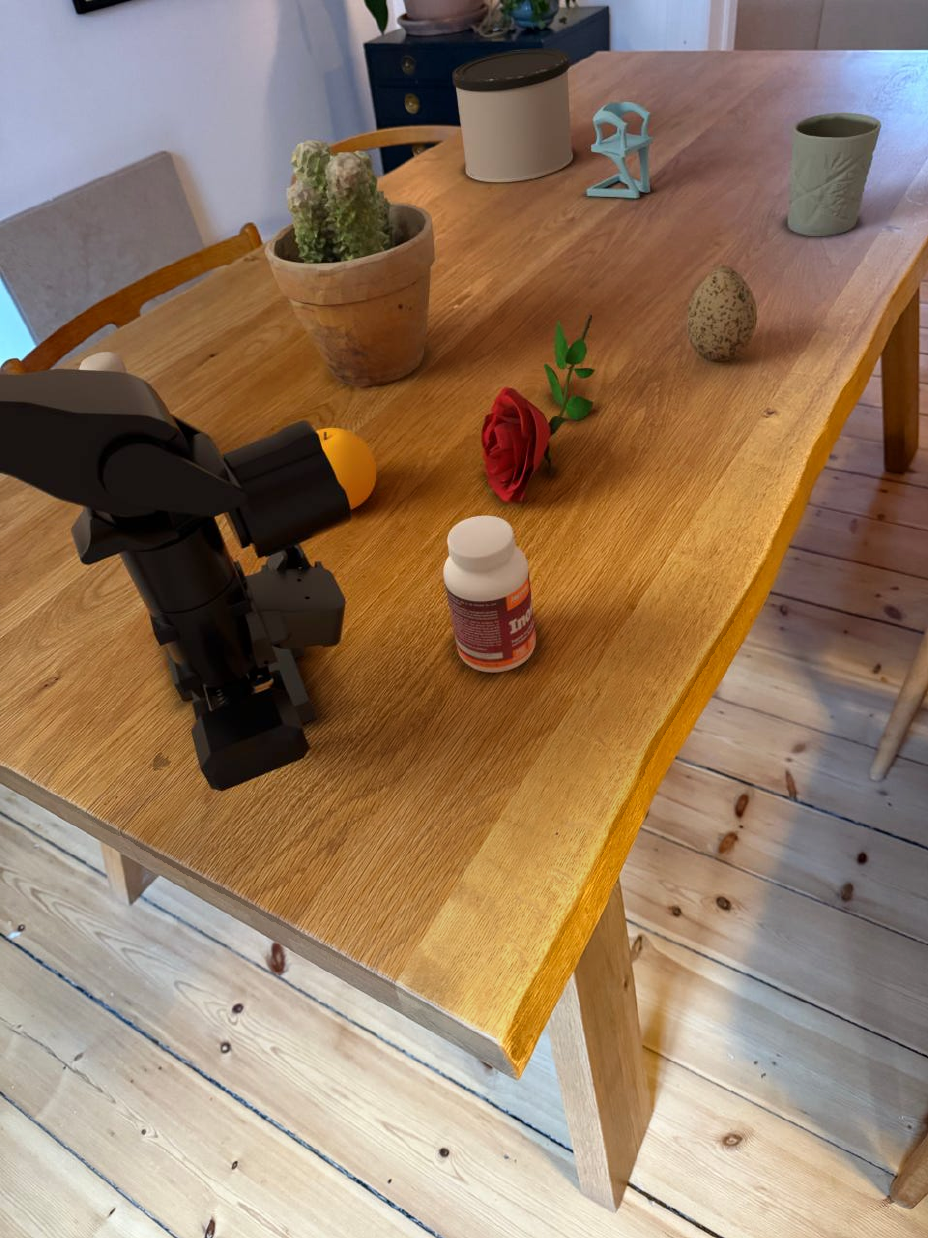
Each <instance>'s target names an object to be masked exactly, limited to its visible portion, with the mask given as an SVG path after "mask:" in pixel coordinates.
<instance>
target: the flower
mask: <svg viewBox="0 0 928 1238" xmlns="http://www.w3.org/2000/svg"><path fill="white" fill-rule="evenodd" d="M593 317H594V316H593V314H590V315H589V316H588V319H587V321H586V323H585V326H584V329H583V332H582V335H581V336H580V337H579V338H577V339H576V340H575V341H574V342H573V343H572V344H571V345H570V347H569V345H568V341H567V338H566V337H565V334H564V331H563V327H562V325H561V324H562V323H561V322H560V320H559V319H557V322H556V328H555V335H554V354H555V363H556V366H557V368H559V369H560V370H566V369H567V370H568V372H567V374H566V375H567V376H566V379H565V384H564V392H563V389H562V387H561V385H560V380H559V378H558V375H557V374H556V372H555V370H554V369H553V368H552V367H551V366H550V365H549V364H547V363H544V364H543V368H544V370H545V373H546V376H547V379H548V381H549V382H548V383H549V386H550V389H551V392H552V396H553V398H554V400H555V401H556V402H557V404H558V405H559V406H561V407H560V411H559V414H558V415H554V416H552V418H550V420H549V421H548V419H547V417H546V415H545V414H544V412H543V411H541V410H540V408H538V407H537V406H536V405H534V404H533V403H532V402H531V401H529V400H528V399H526V398H525V397H523V395H522V394H520V392H519V391H517V389H515V388H513V387H509V386H504V387H503V388H502V389H501V390H500V392H499V393H498V395H497V396H496V397H495V399H494V400H493V404H492V407H491V411H490V413H488V414H486V415H485V417H484V422H483V424H482V429H481V434H480V435H481V438H480V439H481V440H480V442H481V443H480V444H481V447H482V449H483V450H482V458H483V460H484V462H485V463H484V470H485V474H486V475H487V480H488V481H487V483H488V485H490V486H491V488H492V490H493V491H494V493H495V494H496V495H497V496H498V497H499V499H500V500H502V501H503V502H509V503H514V502H516V501H518V500H519V501H520V502H521V501H522V500H523V497H524V495H525V493H526V491H527V488H528V485H529V481H530V480H531V478H532V476H533V475H534V474H535V472H536V471H537V469H538V468H539V466H540V464H541V462H542V461H543V458H544V460H545V461H546V462H547V465H548V472H549V475H550V476H551V475H552V457H551V456H550V447H551V445H550V439H551V437H552V436H554V435H555V434H556V433H557V432H558V430H559V429H560V427H561V426H562V425H563V424H564V423H565V422H568V421H569V419H568V418H570V419H571V420H574V421H579V420H582V419H584V418H585V417H587V416H588V414H589V413H590V412H591V410H592V408H593V405H594V401H592V400H589V399H587V398H585V397H582V396H579V395H574V396H571V397H570V398H569V399H568V396H569V388H570V381H571V376H572V374H573V371H574V372H575V374H576V376H577V377H578V378H579V379H582V380H585V379H588V378H590V377H591V376H593V374H594V373H595V371H596V369H593V368H590V367H575V366H576V365H580V364H583V362H584V360H585V358H586V356H587V353H588V348H587V347H588V346H587V344H586V342H585V339H586V337H587V333H588V331H589V329H590V327H591V326H590V325H591V323H592V320H593ZM568 365H570V366H569V367H567V366H568ZM564 413H566V415H567V417H568V418H566V417H563V415H564Z"/></svg>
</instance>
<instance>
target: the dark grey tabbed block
mask: <svg viewBox="0 0 928 1238" xmlns="http://www.w3.org/2000/svg"><path fill="white" fill-rule="evenodd" d="M273 649H274V652H275V654H276V657H277V660H278V662H276V663H273V664H270V665H269V670H270V672H272V671H275V670H277V669H279V670H280V673H281V675H282V678H283V681H284V683H285V686H286V689H287V692H289V694H290V697H291V699H292V702H293V704H294V707H295V709H296V712H297V714H298V717H299V720H300V722H301V725H303V724H305V723H308V722H310V721H314V720H315V719H317V715H316V712H315V709H314V707H313V704H312V702H311V700H310V699H311V698H310V697H309V694H308V692H307V688H306V686H305V684H304V681H303V678H302V676H301V674H300V671H299V669H298V666H297V663H296V661H295V659H294V658H293V655H292V653H291V650H290V649H280V648H276V647H274V648H273ZM192 695H193V698H192V699H193V702H195V701H197V700H200V698H199V697H198V696H197V695H195V694H194V693H193V692H192Z"/></svg>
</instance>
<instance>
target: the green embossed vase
mask: <svg viewBox="0 0 928 1238" xmlns="http://www.w3.org/2000/svg"><path fill="white" fill-rule="evenodd" d="M881 128H882V123H881V121H880V119H878V118H876V117H874V116H871V115H868V114H863V113H857V112H829V113H822V114H817V115H813V116H808V117H805V118H802V119H800V120H799V121H796V123H795V124H794V125H793V127H792V143H791V165H790V175H789V177H790V179H789V180H790V181H789V197H788V204H789V207H788V210H787V227H788V229H789V230H791V231H792V232H794V233H796V234H799V235H804V236H808V237H828V236H835V235H841V234H843V233H846V232H848V231H850V230H852V229H853V228H854V227H855V226H856V224H857V221H858V217H859V213H860V209H861V204H862V201H863V197H864V196H863V195H864V192H865V187H866V183H867V179H868V175H869V174H870V169H871V166H872V162H873V157H874V156H873V154H874V151H875V149H876V146H877V142H878V139H879V135H880V131H881Z"/></svg>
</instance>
